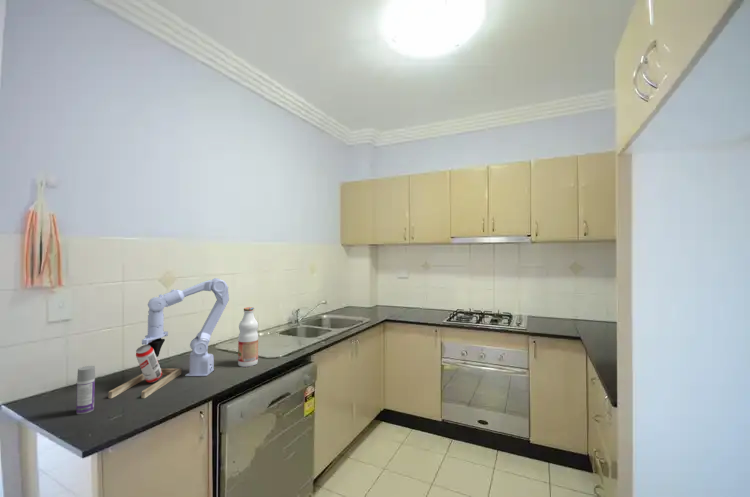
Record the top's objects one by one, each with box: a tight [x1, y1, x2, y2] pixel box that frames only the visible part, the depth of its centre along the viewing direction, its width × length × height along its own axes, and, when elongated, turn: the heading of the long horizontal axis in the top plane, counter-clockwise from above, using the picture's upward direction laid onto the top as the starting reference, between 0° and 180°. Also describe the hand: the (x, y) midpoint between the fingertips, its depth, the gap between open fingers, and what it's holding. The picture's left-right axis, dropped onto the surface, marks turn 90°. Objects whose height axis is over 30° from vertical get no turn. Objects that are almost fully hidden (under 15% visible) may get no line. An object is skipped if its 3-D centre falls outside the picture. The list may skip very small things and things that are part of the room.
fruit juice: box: [237, 306, 259, 368], centre depth 165 cm, size 9×9×28 cm
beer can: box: [135, 345, 163, 383], centre depth 138 cm, size 6×6×16 cm
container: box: [75, 365, 96, 415], centre depth 115 cm, size 5×5×15 cm
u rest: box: [108, 368, 182, 399], centre depth 137 cm, size 13×25×2 cm, turn 2°
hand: (155, 356), depth 142 cm, fingers closed
